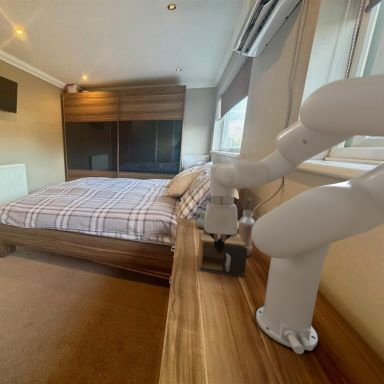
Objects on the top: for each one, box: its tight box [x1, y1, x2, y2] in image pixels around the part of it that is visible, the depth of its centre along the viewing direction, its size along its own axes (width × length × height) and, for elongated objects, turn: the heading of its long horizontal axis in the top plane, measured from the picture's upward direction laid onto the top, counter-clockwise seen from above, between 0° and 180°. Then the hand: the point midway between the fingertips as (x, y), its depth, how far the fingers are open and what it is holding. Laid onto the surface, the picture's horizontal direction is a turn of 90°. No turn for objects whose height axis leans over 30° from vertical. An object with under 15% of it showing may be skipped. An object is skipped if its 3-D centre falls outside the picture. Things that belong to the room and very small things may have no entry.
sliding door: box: [222, 245, 248, 275], centre depth 73 cm, size 5×7×10 cm, turn 74°
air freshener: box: [194, 209, 206, 230], centre depth 121 cm, size 11×8×10 cm
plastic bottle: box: [238, 209, 256, 257], centre depth 88 cm, size 6×7×20 cm
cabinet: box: [197, 230, 245, 277], centre depth 80 cm, size 11×15×12 cm
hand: (218, 250), depth 71 cm, fingers closed
